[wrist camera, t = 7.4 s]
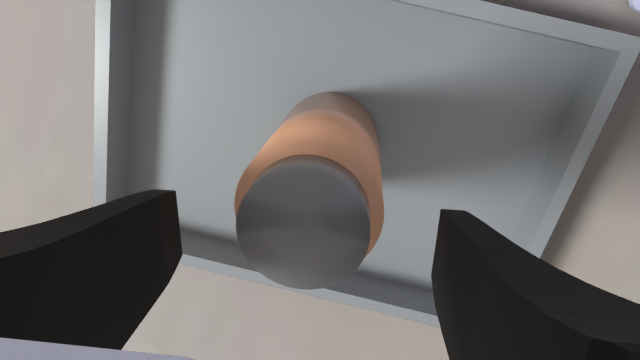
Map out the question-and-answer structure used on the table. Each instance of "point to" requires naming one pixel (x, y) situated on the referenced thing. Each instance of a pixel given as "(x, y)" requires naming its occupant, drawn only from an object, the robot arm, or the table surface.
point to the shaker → (313, 195)
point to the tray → (376, 96)
